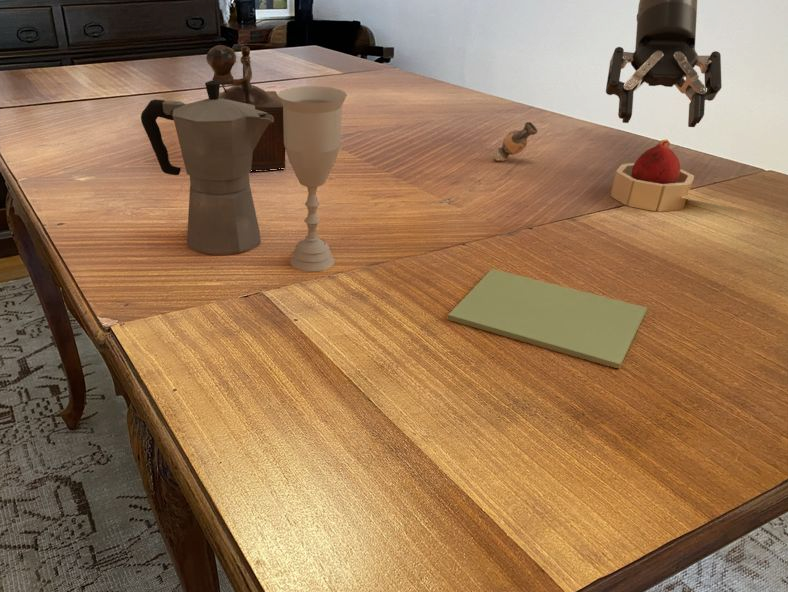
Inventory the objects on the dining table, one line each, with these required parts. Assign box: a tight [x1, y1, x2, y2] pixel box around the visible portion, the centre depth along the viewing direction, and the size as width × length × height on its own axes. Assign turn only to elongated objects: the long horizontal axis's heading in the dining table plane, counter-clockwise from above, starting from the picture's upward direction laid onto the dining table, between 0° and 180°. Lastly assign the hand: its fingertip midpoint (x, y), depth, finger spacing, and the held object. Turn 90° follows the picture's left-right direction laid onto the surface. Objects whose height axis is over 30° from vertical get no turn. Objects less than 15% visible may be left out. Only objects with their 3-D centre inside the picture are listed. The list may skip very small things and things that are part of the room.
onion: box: [632, 138, 681, 184], centre depth 95 cm, size 6×6×8 cm
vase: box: [492, 121, 538, 162], centre depth 109 cm, size 5×5×6 cm
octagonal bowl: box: [610, 162, 695, 213], centre depth 96 cm, size 9×9×4 cm
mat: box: [447, 268, 648, 369], centre depth 69 cm, size 16×12×1 cm
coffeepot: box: [140, 79, 274, 256], centre depth 79 cm, size 15×9×18 cm, turn 75°
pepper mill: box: [205, 44, 286, 171], centre depth 102 cm, size 16×11×18 cm
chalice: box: [277, 85, 348, 272], centre depth 74 cm, size 7×7×18 cm
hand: (660, 122), depth 95 cm, fingers open, 8 cm apart
